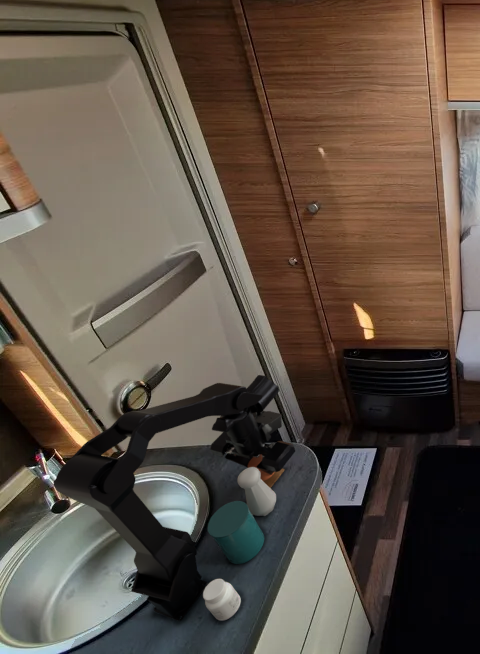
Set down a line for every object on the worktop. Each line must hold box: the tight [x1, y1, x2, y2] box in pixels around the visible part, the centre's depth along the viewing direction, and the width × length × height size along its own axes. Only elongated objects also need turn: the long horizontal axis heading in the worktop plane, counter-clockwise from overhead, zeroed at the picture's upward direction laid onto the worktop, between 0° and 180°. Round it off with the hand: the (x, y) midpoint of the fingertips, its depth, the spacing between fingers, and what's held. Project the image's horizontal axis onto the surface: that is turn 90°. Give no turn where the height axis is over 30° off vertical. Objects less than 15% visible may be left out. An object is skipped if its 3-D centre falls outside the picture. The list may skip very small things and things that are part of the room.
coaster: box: [263, 468, 285, 489], centre depth 102 cm, size 6×6×1 cm
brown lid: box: [248, 455, 274, 481], centre depth 100 cm, size 5×5×4 cm
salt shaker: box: [236, 467, 277, 517], centre depth 93 cm, size 6×6×13 cm
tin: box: [207, 500, 265, 565], centre depth 86 cm, size 7×7×11 cm
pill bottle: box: [202, 578, 242, 622], centre depth 78 cm, size 4×4×8 cm
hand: (263, 470), depth 101 cm, fingers closed on brown lid, 5 cm apart
